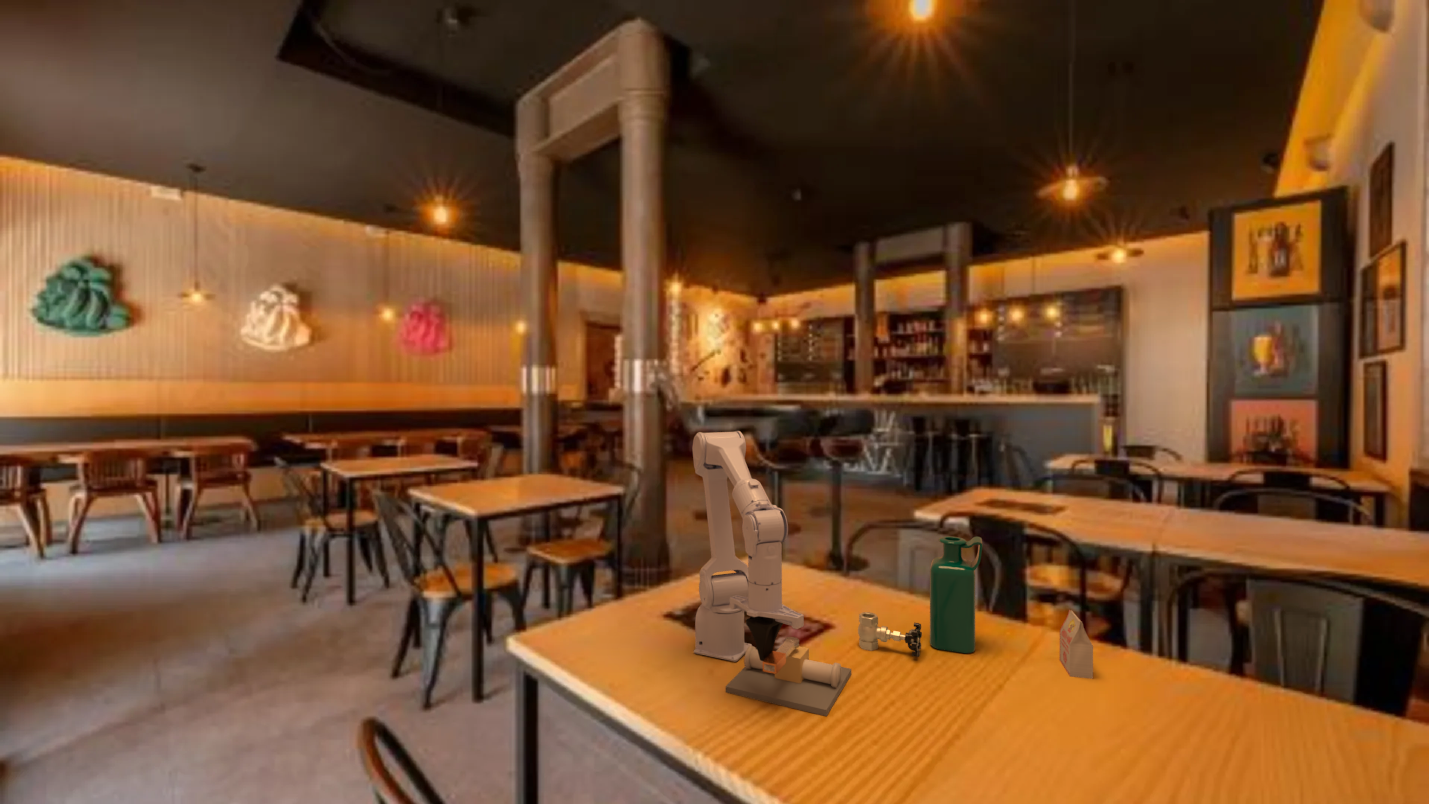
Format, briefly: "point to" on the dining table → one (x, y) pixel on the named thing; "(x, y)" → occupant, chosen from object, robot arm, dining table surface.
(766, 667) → the valve lever
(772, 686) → the pipe board
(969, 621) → the pitcher
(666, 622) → the dining table surface
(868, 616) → the valve
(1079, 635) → the milk carton
